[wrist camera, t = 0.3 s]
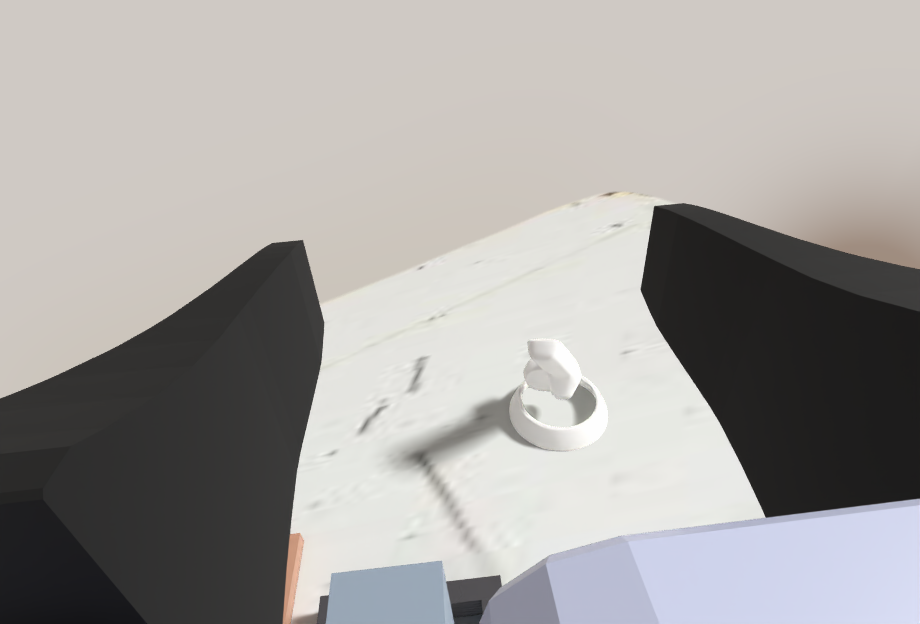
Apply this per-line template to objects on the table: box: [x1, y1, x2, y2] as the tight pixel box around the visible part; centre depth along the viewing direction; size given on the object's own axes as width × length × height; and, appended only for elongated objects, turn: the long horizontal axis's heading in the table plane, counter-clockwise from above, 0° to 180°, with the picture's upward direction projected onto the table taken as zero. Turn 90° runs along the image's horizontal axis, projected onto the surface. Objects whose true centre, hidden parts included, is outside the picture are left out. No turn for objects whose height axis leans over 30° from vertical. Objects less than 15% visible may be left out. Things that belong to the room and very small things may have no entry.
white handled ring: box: [509, 339, 608, 451], centre depth 32 cm, size 6×10×6 cm
